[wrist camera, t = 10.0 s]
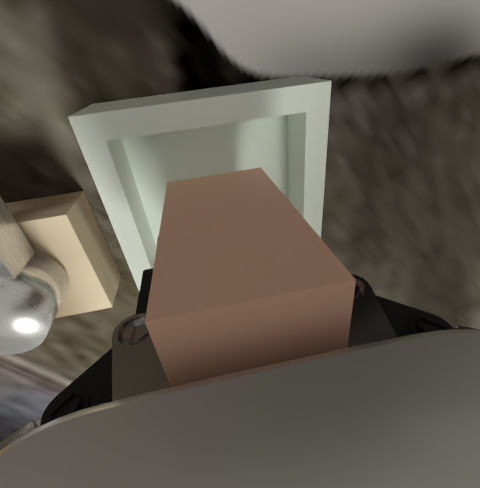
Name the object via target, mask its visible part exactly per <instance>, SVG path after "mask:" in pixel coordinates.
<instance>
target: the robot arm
mask: <svg viewBox="0 0 480 488" xmlns="http://www.w3.org/2000/svg"><path fill="white" fill-rule="evenodd" d="M158 237H159V236H158ZM157 243H158V239H157ZM156 250H157V248H156ZM152 275H153V268H151V269H146V270H144V271H143V274H142V280H141V286H140V292H139V298H138V304H137V310H136V314H135V315H132V316H130V317H128V318H126V319H125V320H123V321H122V322H121V323H120V324H119V325H118V326H117V327H116V329H115V330H114V332H113V336H112V348H111V349H110V350H109V351H108V352H107V353H106V354H105V355H103V356H102V357H101V358H100V359H99V360H98V361H96V362H95V363H94V364H93V365H92V366H91V367H90V368H88V369H87V370H86V371H85V372H84V373H83V374H81V375H80V376H79V377H78V378H77V379H76V380H75V381H73V382H72V383H71V384H70V385H69V386H68V387H67V388H65V389H64V390H63V391H62V392H61V393H60V394H58V395H57V396H56V397H55V398H54V399H53V400H52V401H51V402H50V403H49V405H48V406H47V408H46V409H45V411H44V413H43V416H42V418H41V419H40V420H38V421H37V422H34V421H33V420H31V421H30V422H28V423H27V424H26V425H24V426H23V427H21V428H20V429H18V430H17V431H16V432H14V433H13V434H11V435H10V436H8V437H7V438H5V439H4V440H3V441H1V442H0V488H480V330H479V329H475V328H470V327H465V326H461V325H457V327H456V328H453V327H452V326H451V325H450V324H449V323H448V322H446V321H445V320H443V319H442V318H440V317H438V316H435V315H433V314H430V313H427V312H424V311H421V310H418V309H415V308H412V307H409V306H406V305H403V304H400V303H397V302H394V301H391V300H388V299H385V298H382V297H379V296H376V295H375V294H374V292H373V290H372V288H371V286H370V284H369V283H368V282H367V281H366V280H365V279H363V278H362V277H360V276H358V275H355V274H351V275H352V276H353V277H354V278H355V279H356V283H355V291H354V299H353V307H352V315H351V323H350V331H349V339H348V347H347V348H344V349H339V350H335V351H330V352H326V353H321V354H316V355H312V356H307V357H303V358H298V359H294V360H289V361H285V362H280V363H276V364H271V365H267V366H262V367H258V368H253V369H249V370H244V371H240V372H235V373H231V374H226V375H222V376H217V377H213V378H209V379H204V380H200V381H196V382H191V383H187V384H182V385H178V386H174V387H170V384H169V382H168V379H167V377H166V374H165V372H164V369H163V367H162V364H161V362H160V359H159V357H158V354H157V352H156V349H155V346H154V344H153V341H152V339H151V336H150V334H149V331H148V329H147V326H146V324H145V318H146V312H147V306H148V300H149V293H150V287H151V281H152Z"/></svg>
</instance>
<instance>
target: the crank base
mask: <svg viewBox="0 0 480 488" xmlns="http://www.w3.org/2000/svg"><path fill="white" fill-rule="evenodd" d="M5 204H6V206H7V207H8V209H9V211H10V212H11V214H12V216H13V217H14V219H15V220H16V222H17V224H18V225H19V227H20V228H21V230H22V232H23V233H24V235H25V236H26V238H27V240H28V241H29V243H30V245H31V246H32V248H33V249H34V251H35V252H37V253H40V254H43V255H45V256H47V257H49V258H51V259H53V260H54V261H56V262H57V263H58V264H59V265H60V266H61V267H62V268H63V269H64V270H65V272H66V273H67V275H68V278H69V282H70V285H69V290H68V292H67V294H66V296H65V298H64V300H63V302H62V305H61V307H60V309H59V311H58V313H57V315H56V317H55V318H59V317H64V316H69V315H74V314H79V313H85V312H90V311H95V310H100V309H105V308H111V307H113V303H114V300H115V296H116V292H117V289H118V285H119V282H120V278H121V275H120V273H119V270H118V268H117V266H116V264H115V261H114V259H113V257H112V255H111V252H110V250H109V248H108V245H107V243H106V241H105V239H104V236H103V234H102V232H101V229H100V227H99V225H98V223H97V220H96V218H95V216H94V214H93V211H92V209H91V207H90V204H89V202H88V200H87V198H86V195H85V193H84V191H80V192H74V193H67V194H61V195H55V196H48V197H42V198H36V199H29V200H23V201H17V202H10V203H5Z"/></svg>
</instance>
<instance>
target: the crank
mask: <svg viewBox="0 0 480 488" xmlns="http://www.w3.org/2000/svg"><path fill="white" fill-rule="evenodd" d="M69 285H70V282H69V278H68V275H67V273H66V272H65V270H64V269H63V268H62V267H61V266H60V265H59V264H58V263H57V262H56V261H54V260H53V259H51V258H49V257H47V256H45V255H43V254H40V253H37V252H35V251H34V249H33V248H32V246H31V245H30V243H29V241H28V240H27V238H26V236H25V235H24V233H23V232H22V230H21V228H20V227H19V225H18V224H17V222H16V220H15V219H14V217H13V216H12V214H11V212H10V211H9V209H8V207H7V206H6V204H5V203H4V201H3V199H2V198H1V196H0V354H2V355H8V354H18V353H23V352H27V351H30V350H32V349H34V348H36V347H37V346H39V345H40V344H41V343H42V342H43V341H44V339H45V337H46V335H47V333H48V331H49V329H50V327H51V325H52V323H53V321H54V319H55V317H56V315H57V313H58V311H59V309H60V307H61V305H62V302H63V300H64V298H65V296H66V294H67V292H68V290H69Z"/></svg>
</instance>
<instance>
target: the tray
mask: <svg viewBox="0 0 480 488" xmlns="http://www.w3.org/2000/svg"><path fill="white" fill-rule="evenodd" d="M330 96H331V81H329V80H323V79H317V78H311V77H304V76H297V77H289V78H282V79H274V80H267V81H259V82H252V83H244V84H237V85H229V86H222V87H214V88H207V89H200V90H192V91H185V92H177V93H170V94H162V95H155V96H147V97H140V98H132V99H125V100H117V101H110V102H102V103H95V104H91V105H90V106H88V107H86V108H84V109H82V110H80V111H78V112H76V113H74V114H72V115H71V116H69V117H68V118H69V121H70V123H71V126H72V128H73V131H74V133H75V136H76V138H77V140H78V143H79V145H80V148H81V150H82V153H83V155H84V158H85V160H86V163H87V165H88V167H89V170H90V172H91V175H92V177H93V180H94V182H95V185H96V187H97V189H98V192H99V194H100V197H101V199H102V202H103V204H104V207H105V209H106V211H107V214H108V216H109V219H110V221H111V224H112V226H113V229H114V231H115V233H116V236H117V238H118V241H119V243H120V246H121V248H122V251H123V253H124V255H125V258H126V260H127V263H128V265H129V268H130V270H131V273H132V275H133V278H134V280H135V282H136V285H137V287H138V290H139V292H140V286H141V280H142V274H143V271H144V270H146V269H151V268H154V262H155V256H156V248H157V239H158V236H159V231H160V225H161V218H162V212H163V206H164V200H165V193H166V187H167V182H172V181H178V180H184V179H191V178H197V177H203V176H209V175H216V174H222V173H228V172H234V171H240V170H247V169H253V168H259V167H261V168H262V169H263V171H264V172H265V173H266V174H267V175H268V176H269V178H270V179H271V180H272V181H273V182H274V184H275V185H276V186H277V187H278V188H279V189H280V191H281V192H282V193H283V194H284V195H285V197H286V198H287V199H288V200H289V201H290V202H291V204H292V205H293V206H294V207H295V208H296V210H297V211H298V212H299V213H300V214H301V215H302V217H303V218H304V219H305V220H306V221H307V223H308V224H309V225H310V226H311V227H312V228H313V230H314V231H315V232H316V233H317V234H318V236H319V237H320V238H321V230H322V215H323V200H324V185H325V170H326V156H327V141H328V126H329V111H330Z"/></svg>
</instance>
